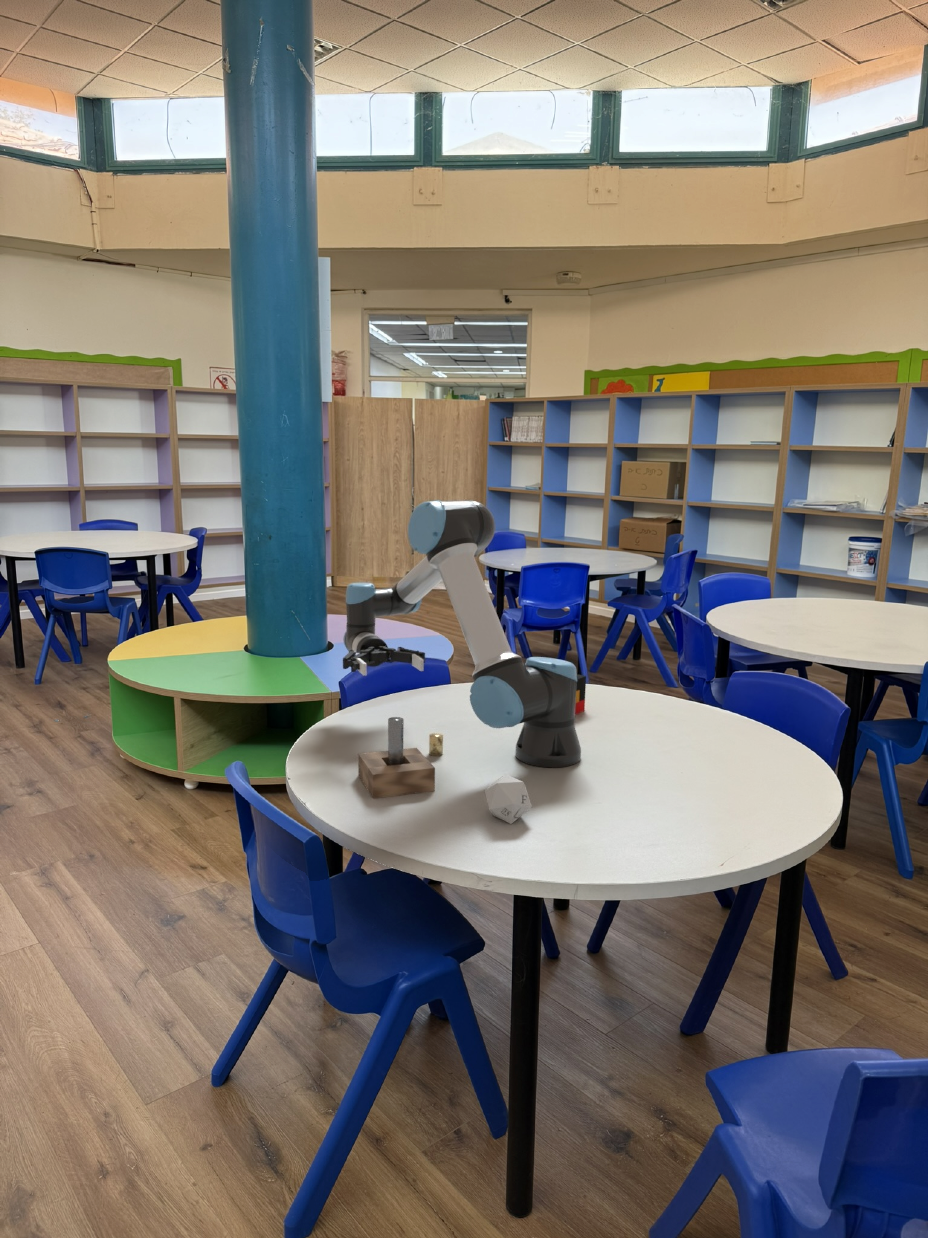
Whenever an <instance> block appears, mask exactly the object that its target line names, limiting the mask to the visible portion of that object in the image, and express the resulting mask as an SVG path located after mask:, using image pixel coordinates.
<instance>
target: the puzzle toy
mask: <svg viewBox="0 0 928 1238" xmlns="http://www.w3.org/2000/svg"><path fill="white" fill-rule="evenodd" d="M586 684H587V675H583V674H577V684H576V704H575V716H576V715H578V714H581V713H582V712H584V711H585V709H586V708H585V707H586V688H587V686H586Z"/></svg>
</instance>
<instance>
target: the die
mask: <svg viewBox="0 0 928 1238" xmlns="http://www.w3.org/2000/svg"><path fill="white" fill-rule="evenodd" d="M484 794H485V798H486V801H487V802H486V803H487V805H488V809H489V811H490V813H491V815H492V816H493V817H496V818H498V819H499V820H501V821H504V822H506V823H508V824H510V825H512V824H513V823H514V822H515V821H517V820H518V819H519V818H520V817H522V816H523V815H524V814H525V813H527V812H528V811H529V810H530V809H531V808H533V807H532V803H531V800H530V797H529V793H528V791H527V787H526V785H525V782H524V781H523V780H520V779H518V778H516V777H513V776H510V775H508V774H506V773H504V774H502V776H501V777H500V778H498V779H497V780H496V781H494V783H492V784H491V785H489V786H488V787H487V788H485V790H484Z"/></svg>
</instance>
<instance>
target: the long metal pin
mask: <svg viewBox="0 0 928 1238" xmlns="http://www.w3.org/2000/svg"><path fill="white" fill-rule="evenodd" d="M404 725H405V724H404V718H403V717H402V716H401V717H400V716H392V717H389V718H388V719H387V751H388V766H391V765H400V764H403V749H404V734H405V733H404V729H405V728H404Z"/></svg>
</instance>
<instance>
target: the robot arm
mask: <svg viewBox="0 0 928 1238" xmlns="http://www.w3.org/2000/svg"><path fill="white" fill-rule="evenodd" d="M495 531H496V523H495V519H494V515H493V513H492V512H491V511H490V510H489V508H488V507H487V506H485V505H484V504H483V503H481V502H479V501H475V500H470V499H468V500H466V499H465V500H438V499H435V500H432V501H431V500H429V501H423V502H421V503H419V504H418V505H417V506H416V507H415V508H414V509H413V511H412V513H411V514H410V517H409V521H408V524H407V537H408V541H409V544H410V546H411V547H412V549H413V550H414V551H415V552H417V553H419V554H421V555H425V556H424V557H423V558H422V559H421V560H420V561H419V562H418V563H417V564H416V565H415V566H414V567H413V568H412V569H410V571H408V573H407V574H406V575H404V576H403V578H401V579H400V580H399V581H398V582H397V583H395V585H393V586H391V587H386V588H376V587H375V585H374V584H373V583H370V582H353V583H349V584H348V585H347V586H346V593H345V603H346V604H345V608H346V627H345V628H346V631H345V632H344V634H343V638H342V639H343V644H344V647H345V648H346V650H347V651H348V653H347V654H346V655H345V656H343V658H342V669H343V670H347V669H349V668H350V672H351V673H356V672H357V671H358V673H360V674H361V675H362V676H367V675H368V672H367V669H368V668H367V667H371V668H375V667H379V666H381V665H383V664H385V663H387V664H394V663H404V664H411V666H412V667H414V668H415V669H416V670H418V671H420V672H424V667H425V665H424V664H426V652H423V651H419V650H413V649H408V648H404V647H402V646H398V647H397V649H396V648H393V647H388V644H387V643H386V642H385V640H383V639H382V638H381V637H379V636H377V635H376V618H383V617H390V616H391V617H392V616H398V615H409V614H410V613H411V614H412V613H415V612H417V611H418V610H420V606H421V604H422V599H423V598H424V597H425V596H426V595H428V594H429V593H430V592H431V591H432V590H433V589H435V587H437V586H438V585H439V584H440V583H441V582H443V584H444V587H445V589H446V592H447V596H448V598H449V600H450V604H451V605H452V607H453V611H454V614H455V617H456V619H457V621H458V624H459V625H460V629H461V631H462V634H463V637H464V639H465V642H466V645H467V646H468V647H467V648H468V649H469V650H468V651H469V652H470V655H471V658H472V660H473V663H474V666H475V667H474V670H473V672H472V674H471V677H472V679H473V683H472V684H471V685H470V691H469V692H470V694H469V701H470V706H471V708H472V711H473V712H474V714H475V716H476V717H477V718H478V719H479V720H480V721H481V722H482V723H483V724H484V725H487V726H488V727H490V728H493V729H504V728H505V729H506V728H513V727H515V726H517V725H520V724H523V725H522V728H521V731H520V732H519V733H520V734H519V735H518V736H519V737H517V740H516V741H517V742H516V743H515V758H516V759H518V760H519V761H520V762H521V763H522V762H523V763H525V764H527V765H531V766H535V767H541V768H563V767H569V766H573V765H575V764H577V763H579V762H580V761H581V759H582V755H581V754H582V747H581V744H580V741H579V738H578V737H579V736H578V733H577V730H576V725H575V718H576V715H575V704H576V684H577V667H576V665H575V664H574V663H573V662H570V661H567V660H564V659H558V658H553V657H545V656H544V657H543V656H542V657H541V656H531V657H528V658H526V661H525V663H524V661H523V658H522V656H520V655H518V654H516V653H514V652H513V651H512V648H511V646H510V644H509V642H508V639H507V636H506V634H505V632H504V629H503V626H502V624H501V621H500V619H499V616H498V614H497V610H496V608H495V606H494V604H493V601H492V598H491V596H490V593H489V591H488V589H487V585H486V583H485V581H484V579H483V576H482V573H481V570H480V568H479V566H478V563H477V561H476V559H475V558H476V557H477V556H479V554H481V553H482V552H483V551H484V550H485V549H486V548H487V547H488V546H489V545H490V543H491V542H492V540H493V539H494V535H495V533H496V532H495Z"/></svg>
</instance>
